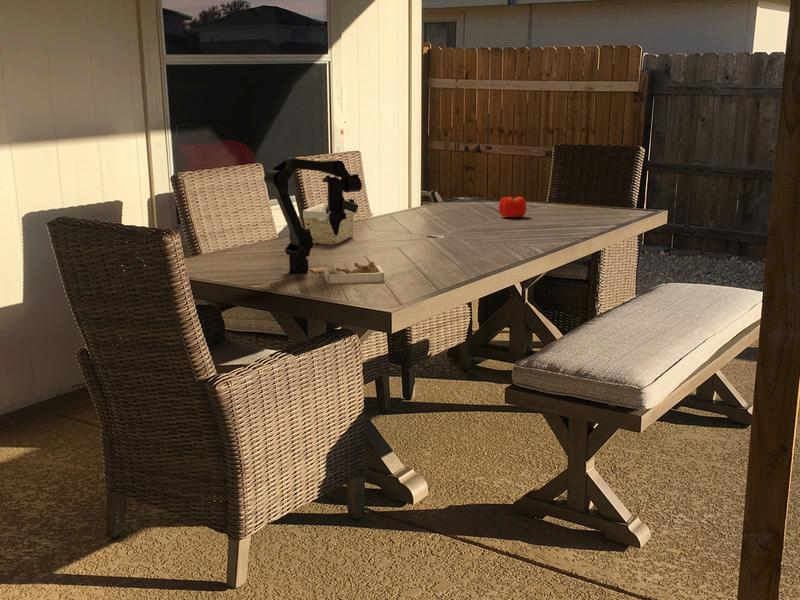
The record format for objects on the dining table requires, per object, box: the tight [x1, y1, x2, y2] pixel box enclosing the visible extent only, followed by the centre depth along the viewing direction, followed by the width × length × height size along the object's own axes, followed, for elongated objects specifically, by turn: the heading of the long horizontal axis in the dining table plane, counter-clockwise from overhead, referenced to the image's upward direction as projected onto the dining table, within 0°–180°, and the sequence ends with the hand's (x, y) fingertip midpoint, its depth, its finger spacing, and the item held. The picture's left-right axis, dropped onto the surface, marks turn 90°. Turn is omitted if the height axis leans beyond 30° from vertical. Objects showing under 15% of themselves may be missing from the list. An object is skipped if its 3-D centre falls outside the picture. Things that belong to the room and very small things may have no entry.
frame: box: [323, 265, 385, 284], centre depth 344 cm, size 20×14×3 cm
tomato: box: [498, 196, 527, 218], centre depth 485 cm, size 14×13×10 cm
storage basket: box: [302, 202, 355, 245], centre depth 423 cm, size 24×16×15 cm
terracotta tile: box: [309, 266, 331, 274], centre depth 358 cm, size 6×6×1 cm
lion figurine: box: [335, 261, 378, 274], centre depth 345 cm, size 15×5×9 cm
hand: (336, 235), depth 363 cm, fingers closed
